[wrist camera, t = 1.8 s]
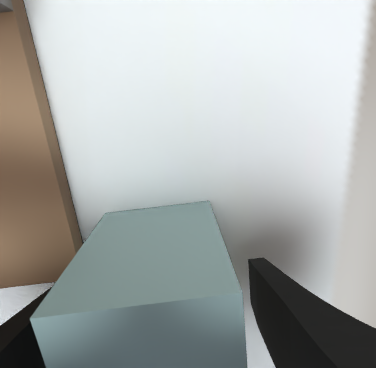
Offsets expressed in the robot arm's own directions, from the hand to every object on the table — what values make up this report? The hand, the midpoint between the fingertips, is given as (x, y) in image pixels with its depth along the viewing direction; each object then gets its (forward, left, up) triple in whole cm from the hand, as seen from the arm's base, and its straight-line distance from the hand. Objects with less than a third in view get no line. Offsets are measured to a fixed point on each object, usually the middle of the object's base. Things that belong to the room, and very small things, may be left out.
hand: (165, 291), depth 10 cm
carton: (0, 0, -2) cm, 2 cm away
